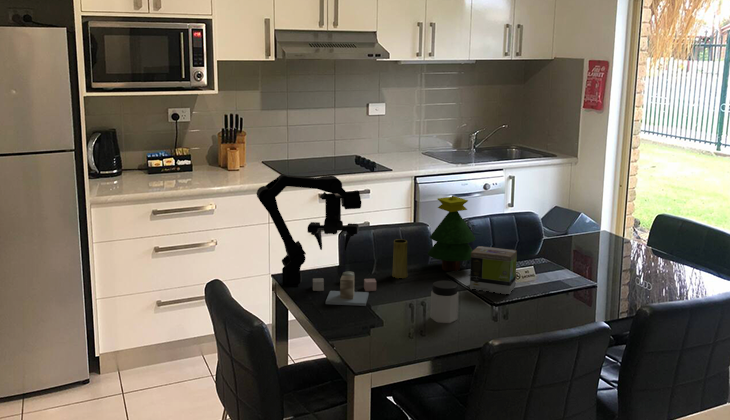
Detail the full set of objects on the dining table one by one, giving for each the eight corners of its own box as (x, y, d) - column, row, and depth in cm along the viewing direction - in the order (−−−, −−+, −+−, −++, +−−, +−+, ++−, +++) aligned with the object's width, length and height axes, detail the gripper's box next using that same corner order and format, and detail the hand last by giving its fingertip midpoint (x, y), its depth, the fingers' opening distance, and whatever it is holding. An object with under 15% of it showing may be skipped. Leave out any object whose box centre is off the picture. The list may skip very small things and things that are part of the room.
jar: (441, 311, 251) (442, 278, 248) (461, 317, 246) (462, 283, 243) (425, 319, 244) (426, 285, 241) (446, 325, 239) (447, 290, 236)
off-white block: (312, 291, 270) (312, 282, 270) (312, 287, 274) (312, 278, 273) (323, 290, 271) (323, 281, 270) (323, 287, 275) (323, 278, 274)
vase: (406, 279, 284) (407, 243, 280) (390, 278, 285) (391, 242, 282) (408, 274, 290) (409, 239, 286) (393, 273, 291) (393, 238, 287)
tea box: (515, 287, 276) (517, 249, 272) (508, 296, 267) (511, 256, 263) (476, 281, 282) (478, 244, 278) (468, 289, 273) (470, 251, 269)
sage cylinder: (342, 283, 278) (342, 274, 278) (343, 279, 283) (343, 271, 282) (353, 284, 278) (353, 275, 277) (354, 280, 282) (354, 271, 282)
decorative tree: (446, 279, 284) (448, 203, 277) (417, 265, 300) (419, 193, 293) (485, 271, 294) (488, 198, 287) (455, 259, 310) (458, 189, 303)
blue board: (325, 304, 257) (325, 301, 257) (330, 293, 268) (330, 290, 268) (365, 305, 256) (365, 303, 256) (368, 294, 266) (368, 292, 266)
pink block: (365, 291, 270) (365, 282, 270) (363, 287, 274) (364, 278, 273) (376, 291, 271) (376, 282, 270) (374, 287, 275) (374, 278, 274)
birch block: (340, 298, 260) (340, 279, 258) (341, 294, 264) (341, 275, 262) (352, 299, 259) (353, 280, 258) (354, 294, 264) (354, 276, 262)
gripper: (304, 214, 269) (305, 255, 272) (355, 216, 267) (355, 257, 270) (309, 207, 279) (310, 247, 283) (358, 208, 278) (358, 248, 281)
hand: (333, 250), depth 279 cm, fingers open, 9 cm apart
